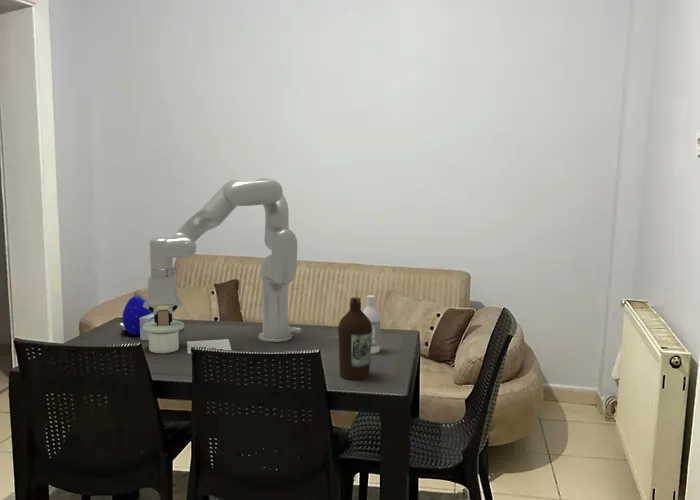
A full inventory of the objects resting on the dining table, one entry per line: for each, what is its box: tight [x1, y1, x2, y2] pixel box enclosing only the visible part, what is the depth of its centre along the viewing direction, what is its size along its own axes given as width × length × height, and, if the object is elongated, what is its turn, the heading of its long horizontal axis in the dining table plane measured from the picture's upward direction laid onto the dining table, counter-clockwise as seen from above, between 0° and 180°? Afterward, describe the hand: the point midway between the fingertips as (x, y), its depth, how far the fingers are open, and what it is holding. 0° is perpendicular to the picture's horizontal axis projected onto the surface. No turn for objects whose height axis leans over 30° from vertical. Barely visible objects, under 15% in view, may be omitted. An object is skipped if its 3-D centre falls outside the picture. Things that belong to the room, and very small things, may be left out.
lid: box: [143, 308, 185, 333], centre depth 245 cm, size 14×14×6 cm
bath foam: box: [362, 294, 381, 355], centre depth 247 cm, size 7×7×20 cm
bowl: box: [148, 331, 180, 354], centre depth 246 cm, size 10×10×7 cm
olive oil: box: [337, 296, 372, 381], centre depth 220 cm, size 11×11×25 cm
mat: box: [186, 338, 233, 354], centre depth 251 cm, size 15×15×1 cm
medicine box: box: [139, 313, 154, 341], centre depth 261 cm, size 8×4×9 cm, turn 163°
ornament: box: [121, 295, 152, 336], centre depth 266 cm, size 11×9×15 cm
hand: (163, 323), depth 246 cm, fingers closed on lid, 3 cm apart
